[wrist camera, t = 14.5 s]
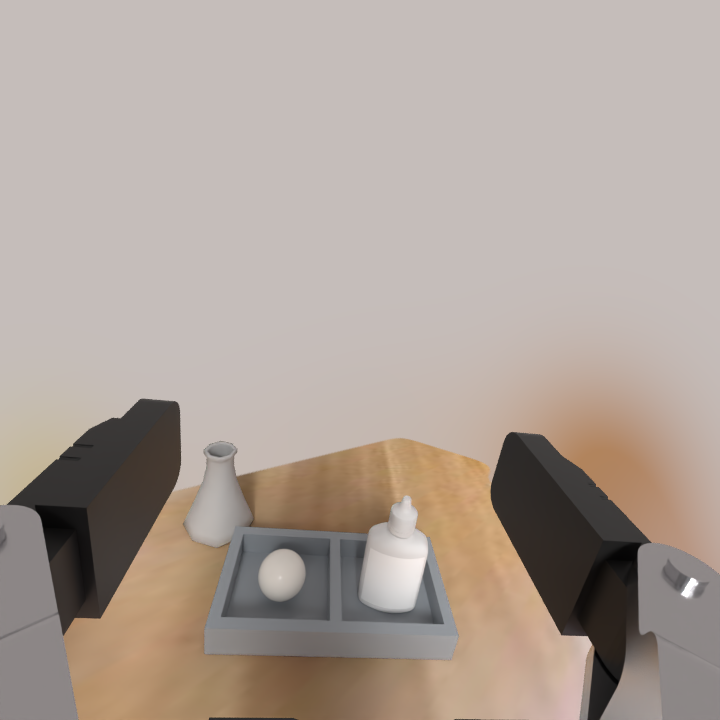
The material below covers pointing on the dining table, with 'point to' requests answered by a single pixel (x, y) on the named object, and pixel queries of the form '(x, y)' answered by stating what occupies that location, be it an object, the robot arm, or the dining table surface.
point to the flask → (218, 500)
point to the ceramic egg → (281, 575)
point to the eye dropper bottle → (394, 561)
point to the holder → (322, 604)
